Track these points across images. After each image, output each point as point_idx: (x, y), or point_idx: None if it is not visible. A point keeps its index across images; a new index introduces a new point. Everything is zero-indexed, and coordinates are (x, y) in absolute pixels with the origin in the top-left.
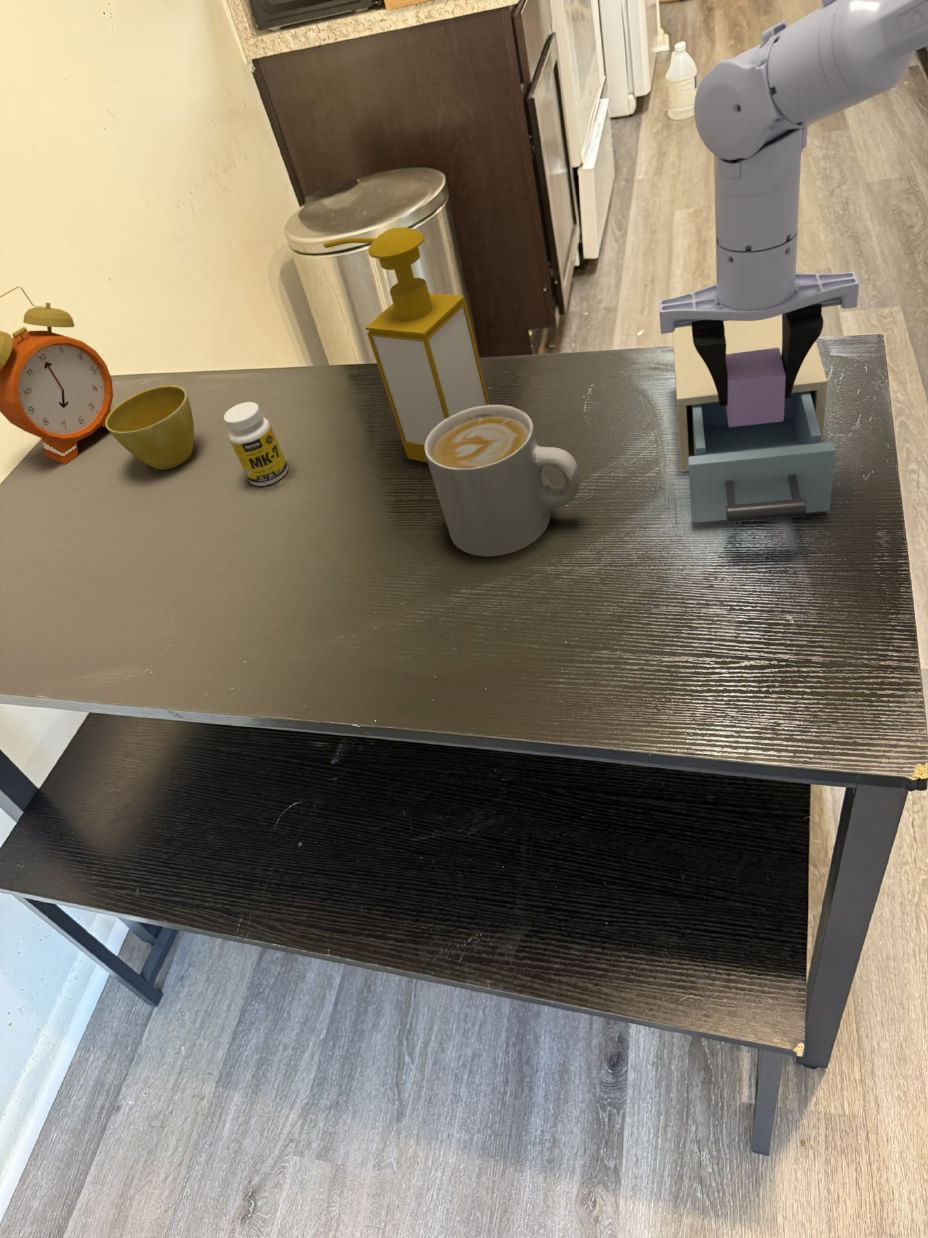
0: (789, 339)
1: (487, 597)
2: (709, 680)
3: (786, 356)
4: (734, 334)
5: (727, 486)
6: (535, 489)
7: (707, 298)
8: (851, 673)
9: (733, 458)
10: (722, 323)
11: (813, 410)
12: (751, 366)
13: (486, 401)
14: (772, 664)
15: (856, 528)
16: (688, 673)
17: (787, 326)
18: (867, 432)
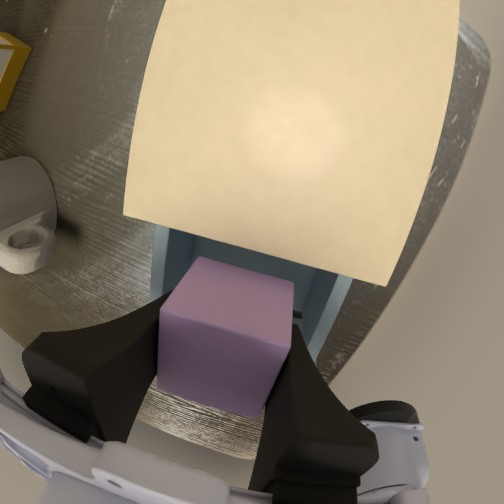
0: (249, 486)
1: (35, 288)
2: (169, 408)
3: (265, 426)
4: (296, 18)
5: None
6: (20, 248)
7: (38, 468)
8: (250, 431)
9: None
10: (102, 436)
11: (336, 311)
12: (206, 376)
13: (2, 48)
14: (208, 414)
15: (325, 344)
16: (158, 400)
17: (257, 482)
18: (425, 206)
